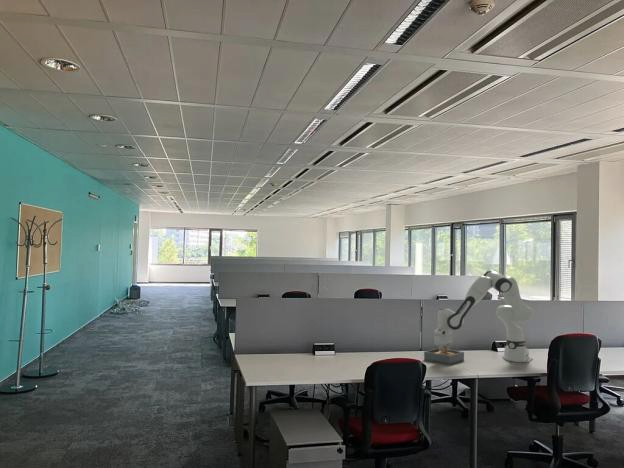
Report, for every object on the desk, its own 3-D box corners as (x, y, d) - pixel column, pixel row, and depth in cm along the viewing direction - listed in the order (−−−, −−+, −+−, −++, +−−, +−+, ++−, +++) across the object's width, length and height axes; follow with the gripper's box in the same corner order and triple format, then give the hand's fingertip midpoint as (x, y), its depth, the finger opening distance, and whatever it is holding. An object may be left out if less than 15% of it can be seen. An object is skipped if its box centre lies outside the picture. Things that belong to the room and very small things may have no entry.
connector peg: (443, 357, 333) (443, 345, 333) (448, 358, 330) (448, 346, 330) (440, 358, 330) (440, 346, 330) (445, 359, 327) (445, 346, 327)
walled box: (439, 355, 344) (439, 347, 344) (464, 360, 330) (463, 352, 330) (424, 360, 330) (424, 351, 330) (449, 365, 316) (449, 356, 316)
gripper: (447, 328, 340) (447, 347, 340) (432, 331, 326) (432, 351, 325) (455, 329, 336) (455, 348, 335) (440, 332, 322) (440, 352, 321)
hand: (444, 350), depth 330 cm, fingers open, 8 cm apart
